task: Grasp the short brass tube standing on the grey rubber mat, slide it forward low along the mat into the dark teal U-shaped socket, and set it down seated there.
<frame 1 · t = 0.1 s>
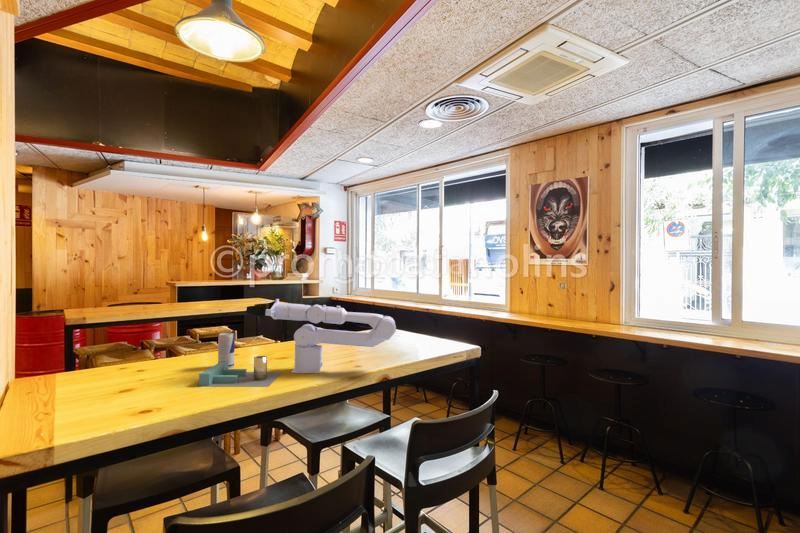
hand: (250, 308, 135), 22 cm above the table, tool horizontal, fingers open, 7 cm apart
brass tube: (260, 378, 124), resting on mat
socket dock: (228, 378, 124), resting on mat
mat: (241, 379, 124), on the table
energy drink: (226, 367, 139), on the table
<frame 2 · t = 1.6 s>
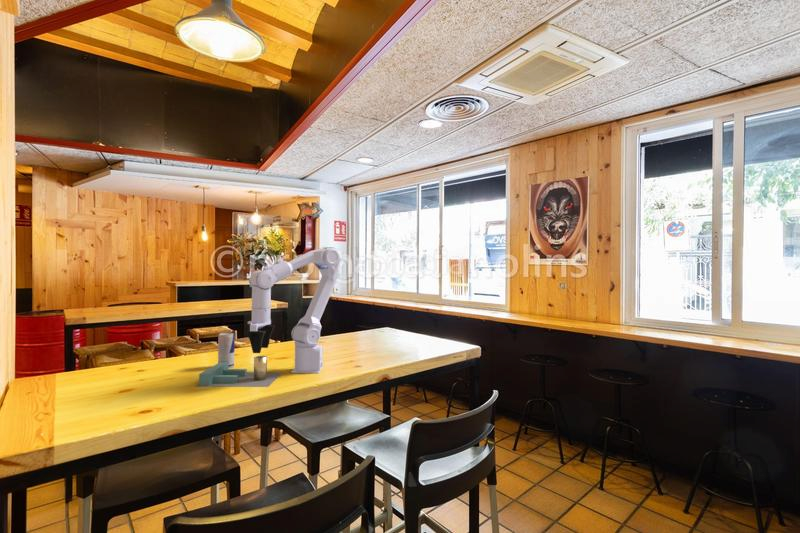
hand: (260, 350, 124), 9 cm above the table, tool pointing down, fingers open, 7 cm apart
nothing on the table moved.
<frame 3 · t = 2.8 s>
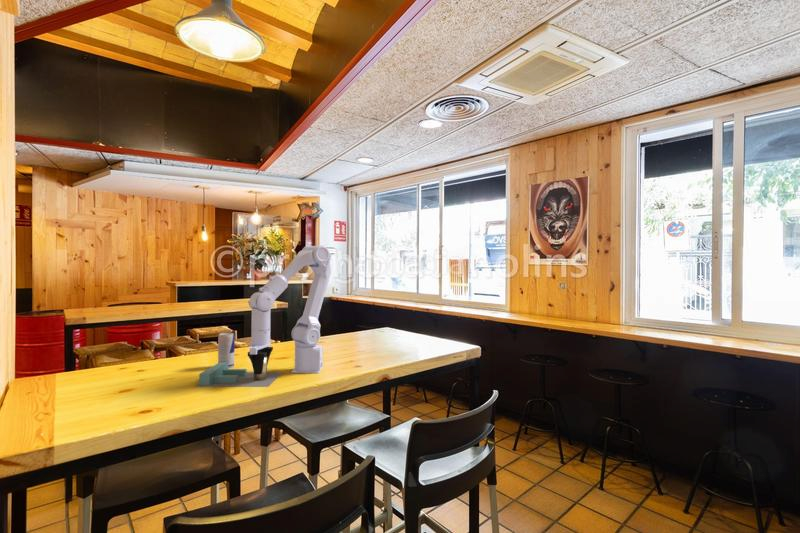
hand: (260, 372, 124), 2 cm above the table, tool pointing down, fingers closed on brass tube, 4 cm apart
brass tube: (260, 378, 124), resting on mat, touching gripper
everything else where it was.
when the fingers open (3 cm above the table, at t = 7.2 s): brass tube stays where it is, resting on mat.
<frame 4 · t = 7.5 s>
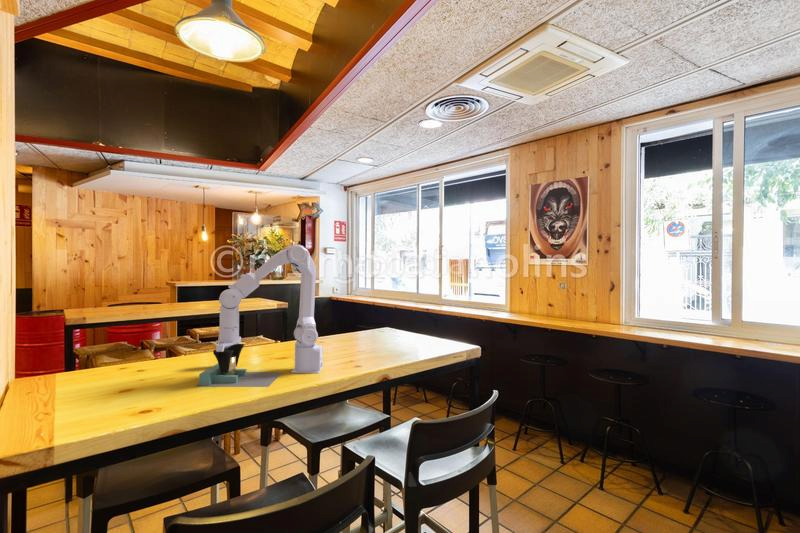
hand: (228, 369, 124), 3 cm above the table, tool pointing down, fingers open, 6 cm apart
brass tube: (228, 378, 124), resting on mat
everything else where it was.
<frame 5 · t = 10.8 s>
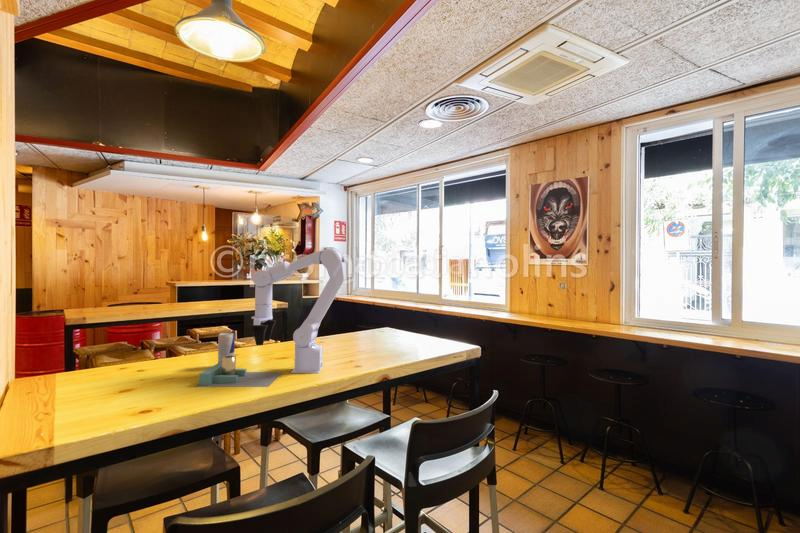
hand: (263, 342, 136), 9 cm above the table, tool pointing down, fingers open, 7 cm apart
nothing on the table moved.
at the end: brass tube 0.4 cm off-centre on the socket dock, point 0.0 cm above the socket dock's base; brass tube tilted 0°; the gripper is holding nothing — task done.
